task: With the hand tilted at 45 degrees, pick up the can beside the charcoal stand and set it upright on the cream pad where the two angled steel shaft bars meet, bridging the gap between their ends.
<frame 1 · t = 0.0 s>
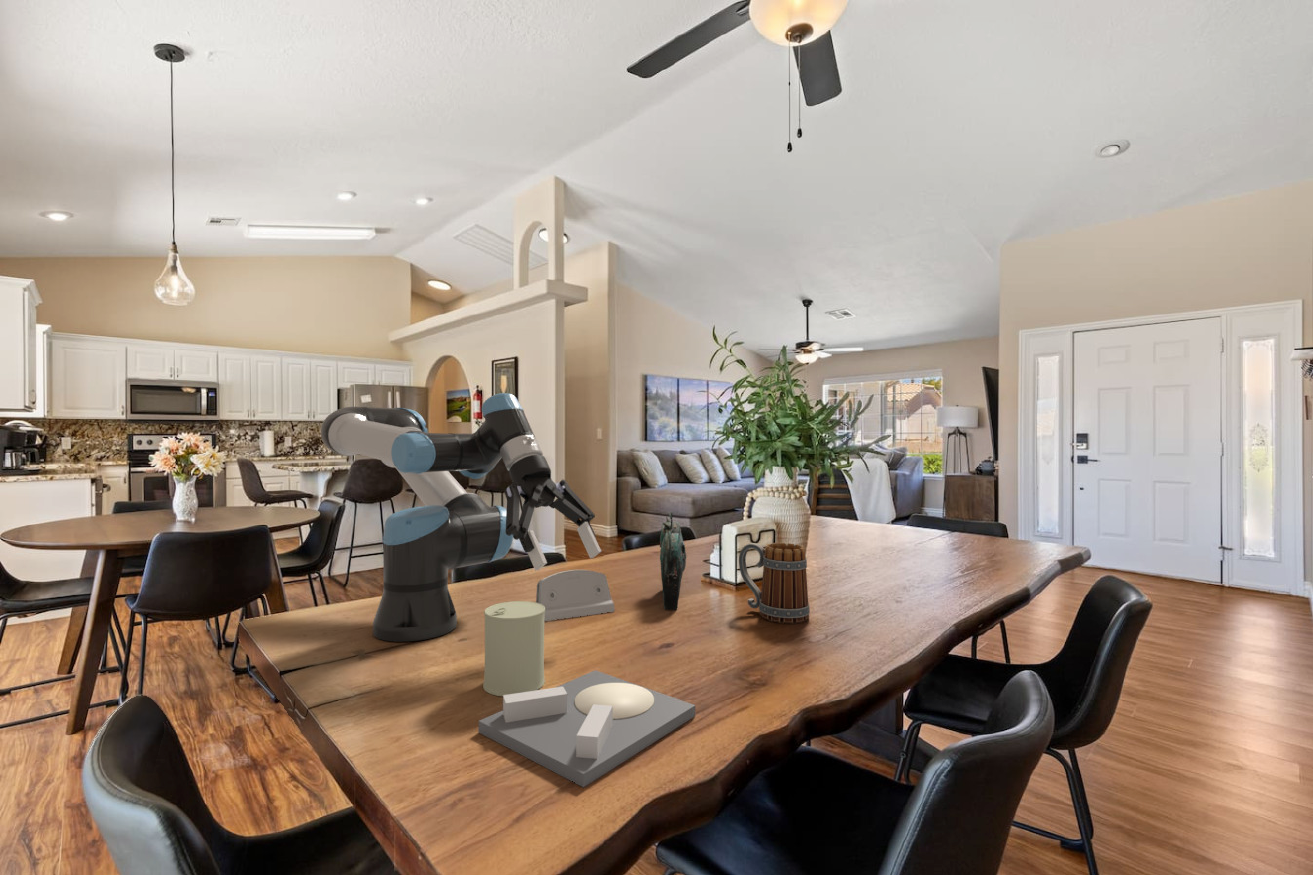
hand: (570, 560, 110), 15 cm above the table, tool tilted 35°, fingers open, 13 cm apart
coupling stand: (614, 711, 84), on the table
mug: (772, 615, 130), on the table
can: (514, 685, 93), on the table
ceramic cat: (672, 599, 141), on the table
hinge: (573, 613, 130), on the table
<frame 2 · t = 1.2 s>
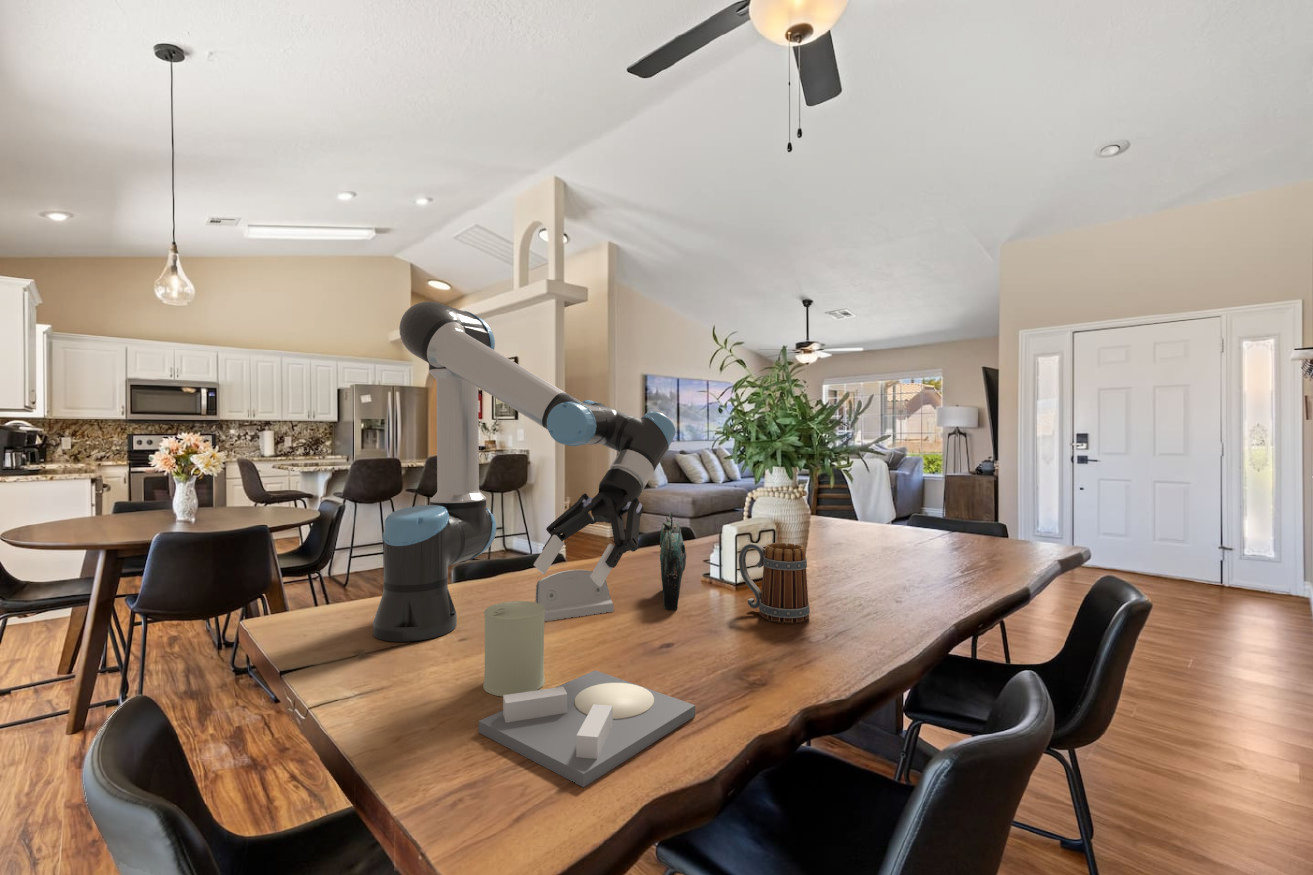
hand: (565, 575, 101), 15 cm above the table, tool tilted 45°, fingers open, 13 cm apart
nothing on the table moved.
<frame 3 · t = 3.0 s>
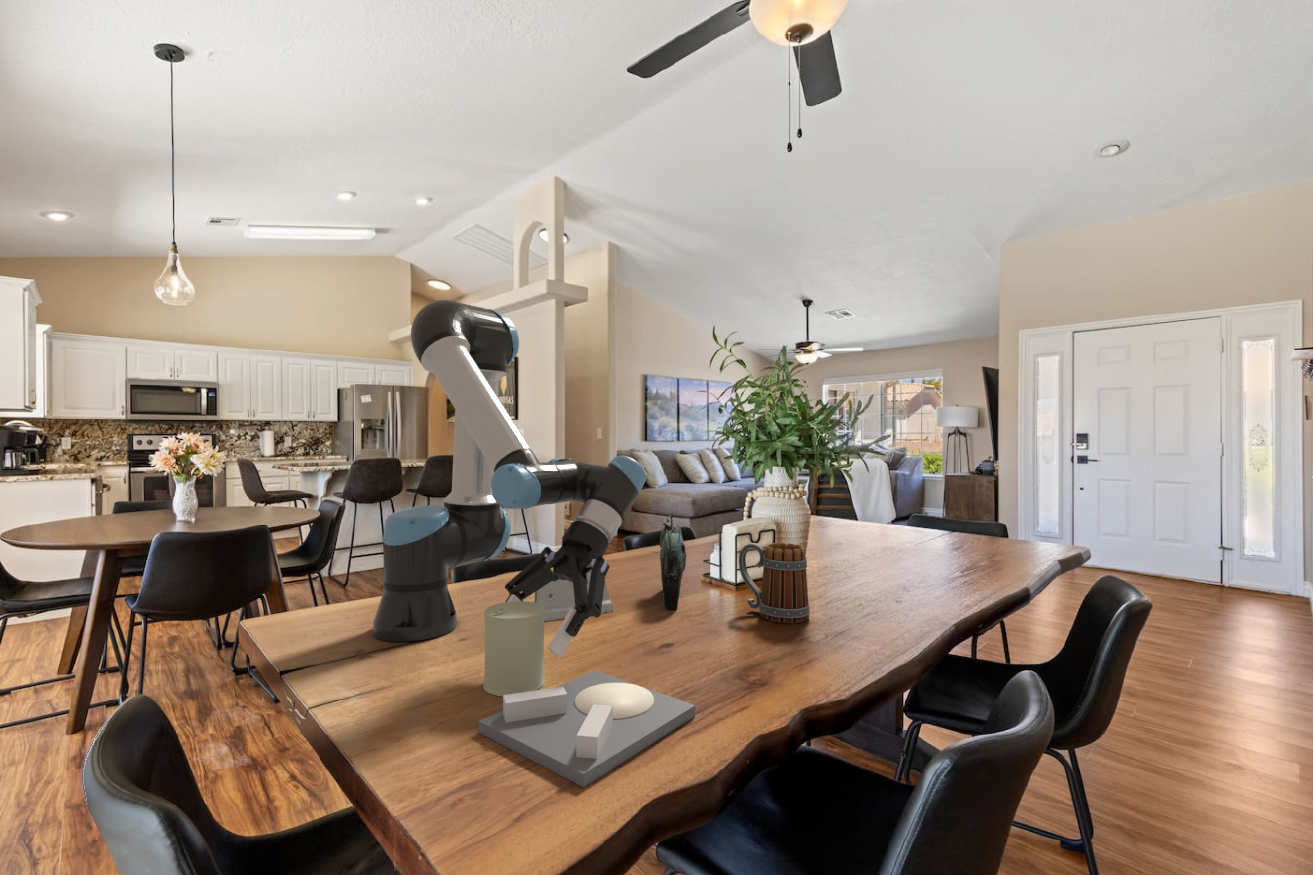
hand: (523, 643, 92), 6 cm above the table, tool tilted 45°, fingers open, 13 cm apart
nothing on the table moved.
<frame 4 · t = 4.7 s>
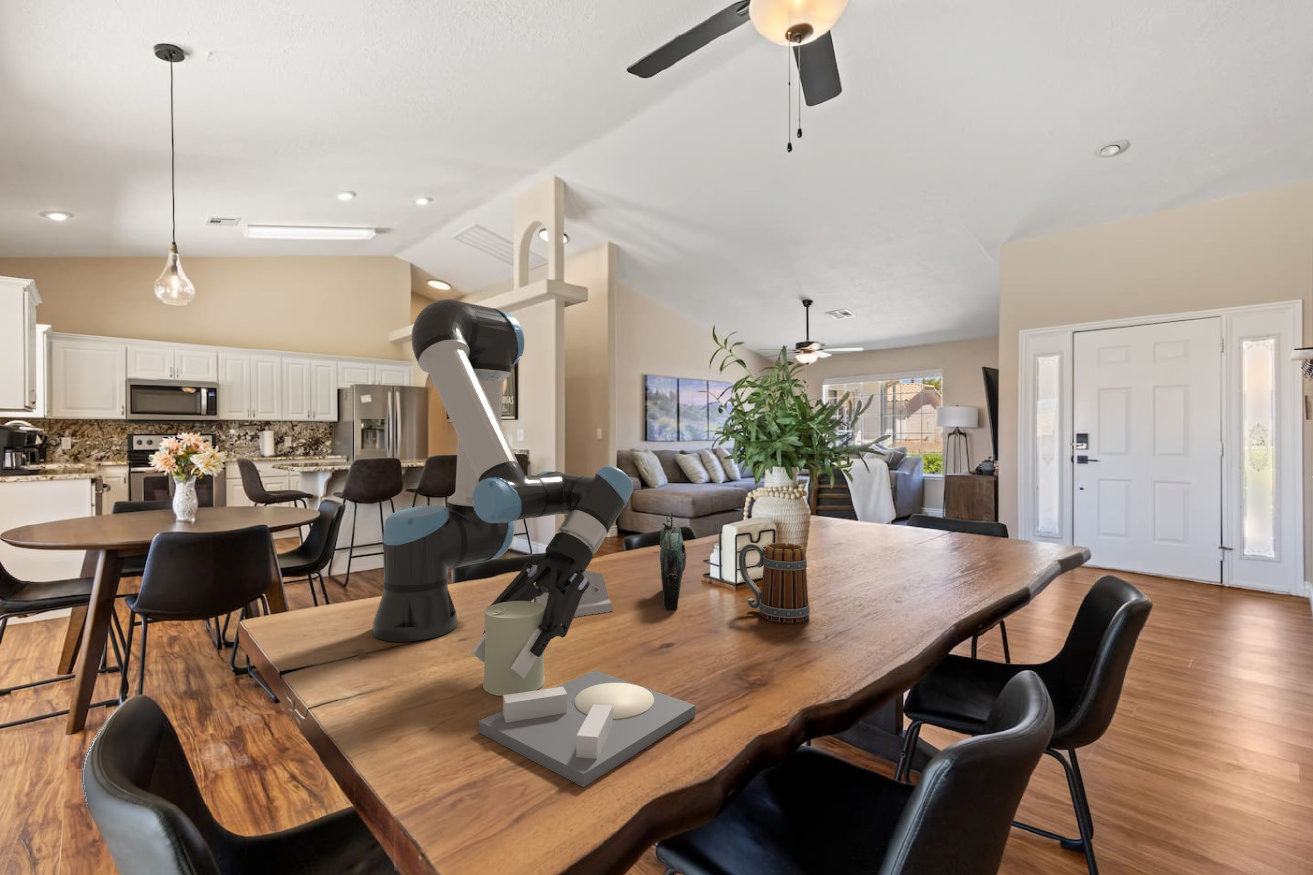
hand: (496, 665, 90), 4 cm above the table, tool tilted 45°, fingers closed on can, 9 cm apart
can: (514, 685, 93), on the table, touching gripper
everything else where it was.
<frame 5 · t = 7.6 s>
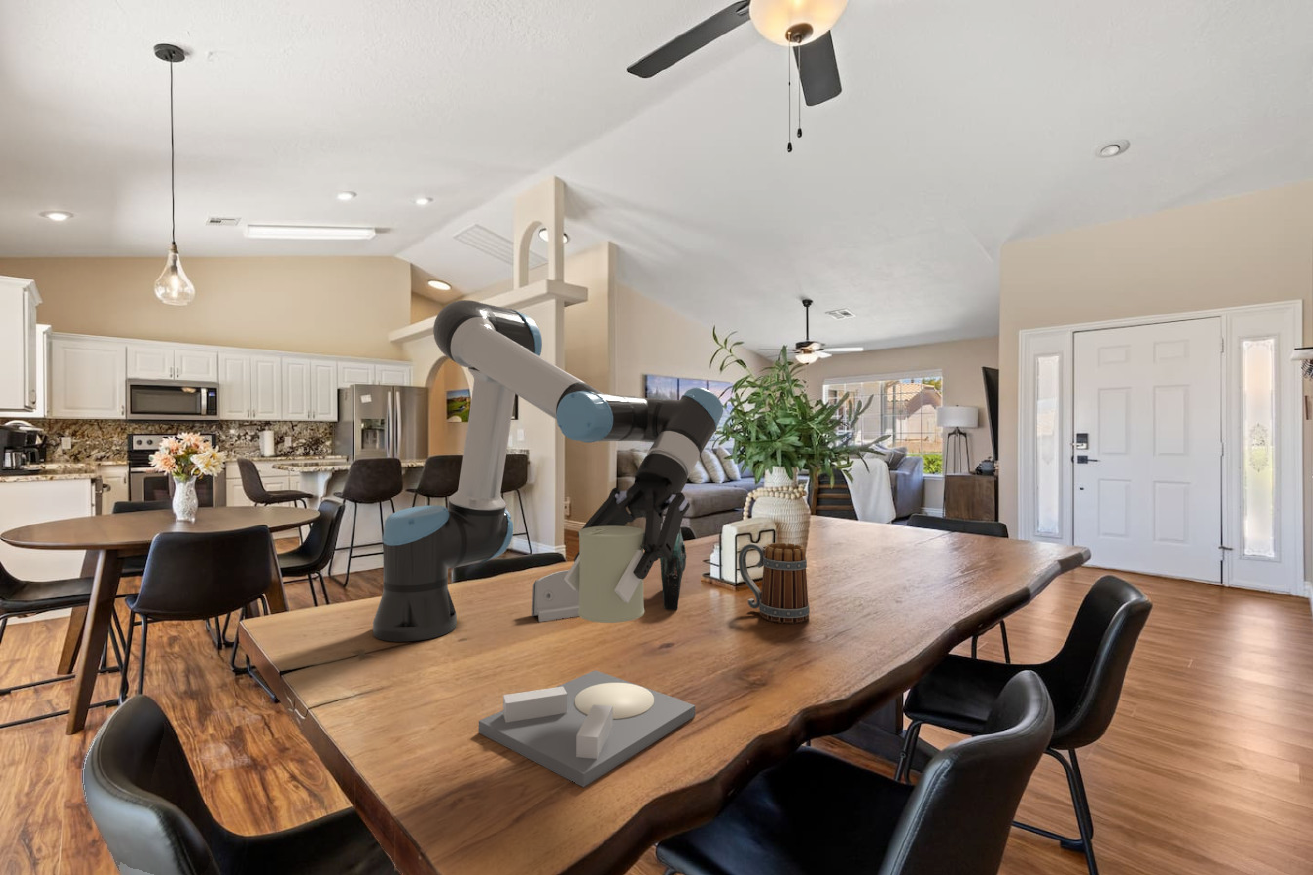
hand: (595, 590, 82), 17 cm above the table, tool tilted 45°, fingers closed on can, 9 cm apart
can: (611, 614, 84), point 13 cm above the table, touching gripper
everything else where it was.
when the fingers open (7 cm above the table, at t = 10.5 s): can drops 1 cm, resting on coupling stand.
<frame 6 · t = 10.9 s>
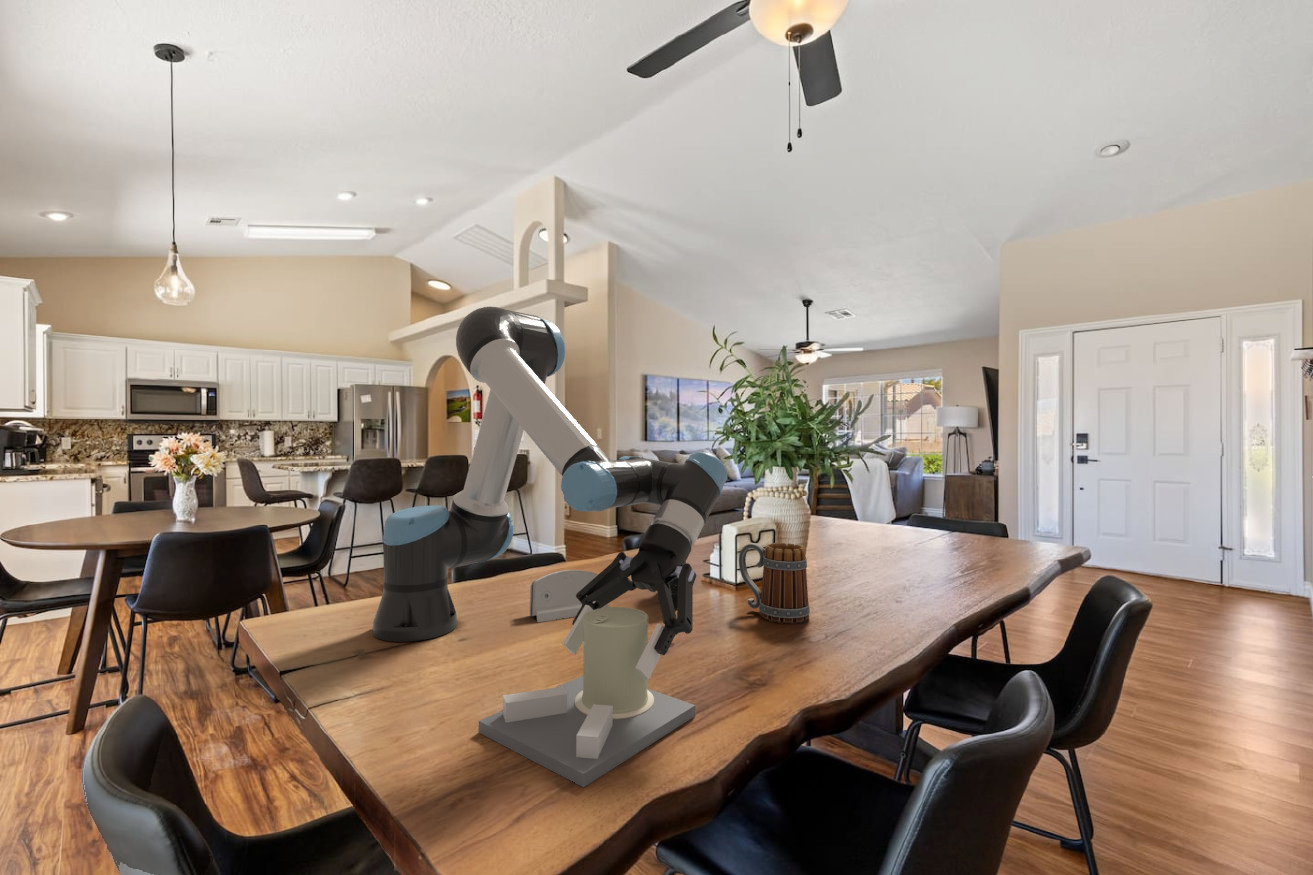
hand: (603, 661, 82), 8 cm above the table, tool tilted 45°, fingers open, 13 cm apart
can: (615, 700, 84), point 2 cm above the table, touching coupling stand
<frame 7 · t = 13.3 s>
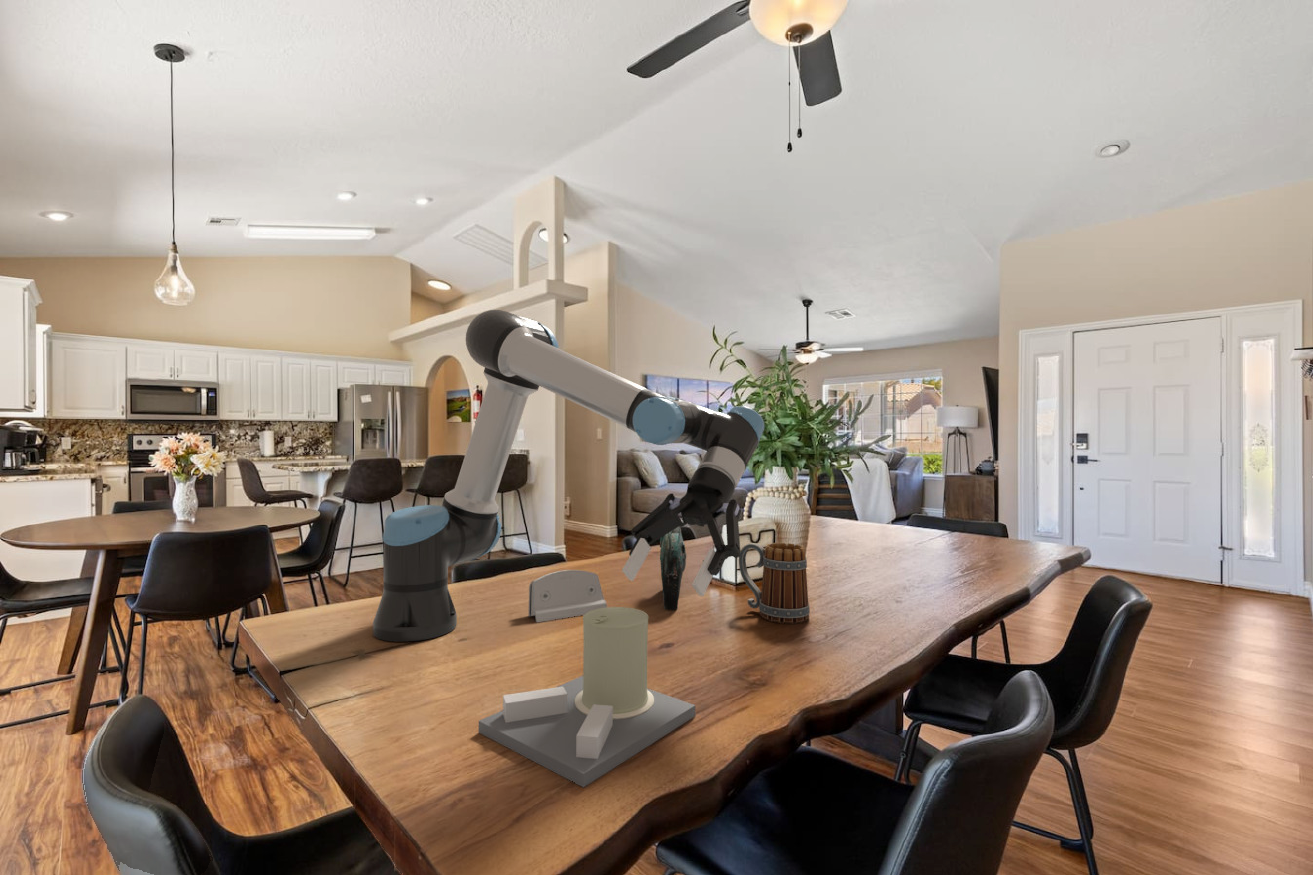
hand: (660, 583, 92), 16 cm above the table, tool tilted 45°, fingers open, 13 cm apart
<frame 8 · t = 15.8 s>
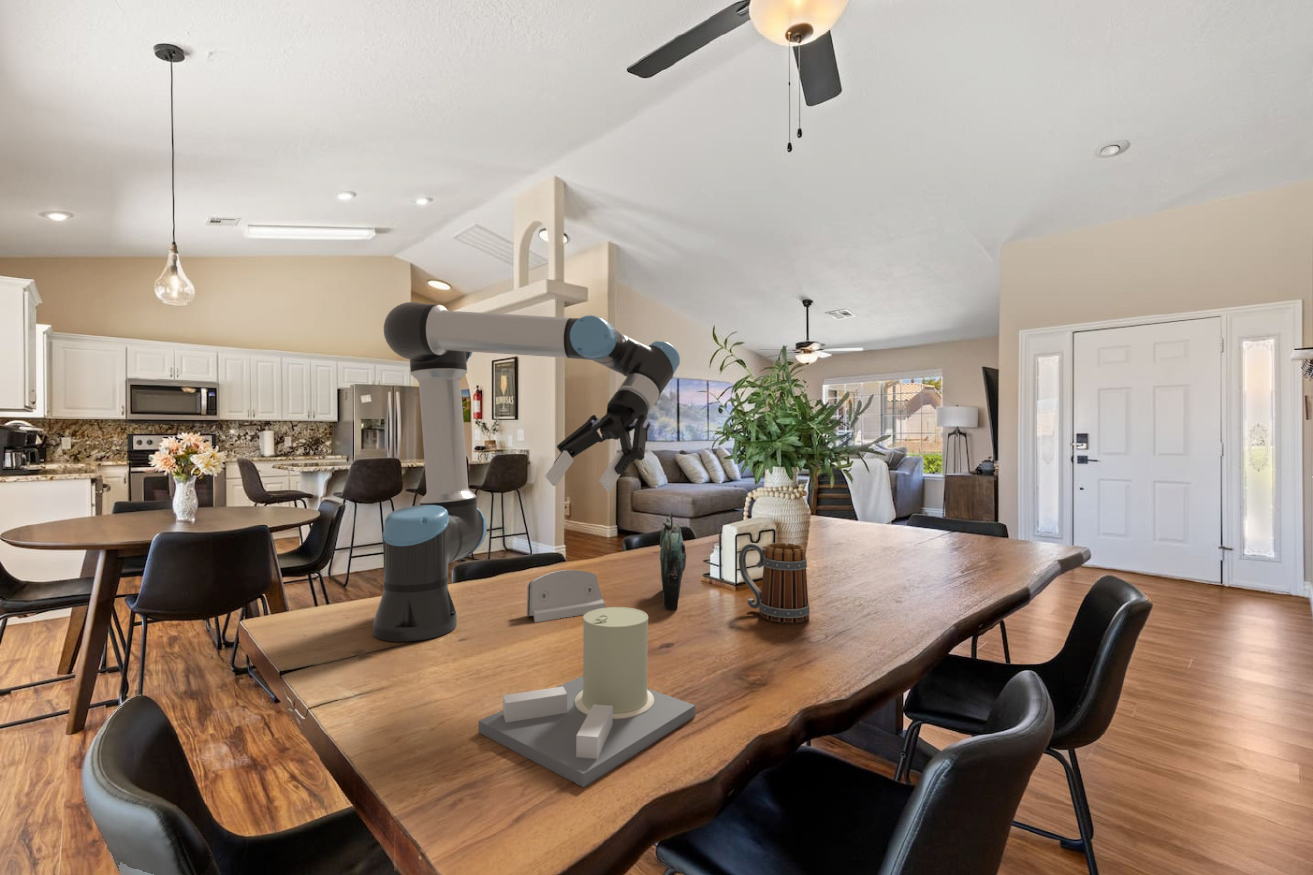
hand: (576, 483, 107), 30 cm above the table, tool tilted 45°, fingers open, 13 cm apart
at the end: can 0.1 cm off-centre on the coupling stand, point 1.5 cm above the coupling stand's base; can tilted 0°; the gripper is holding nothing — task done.
